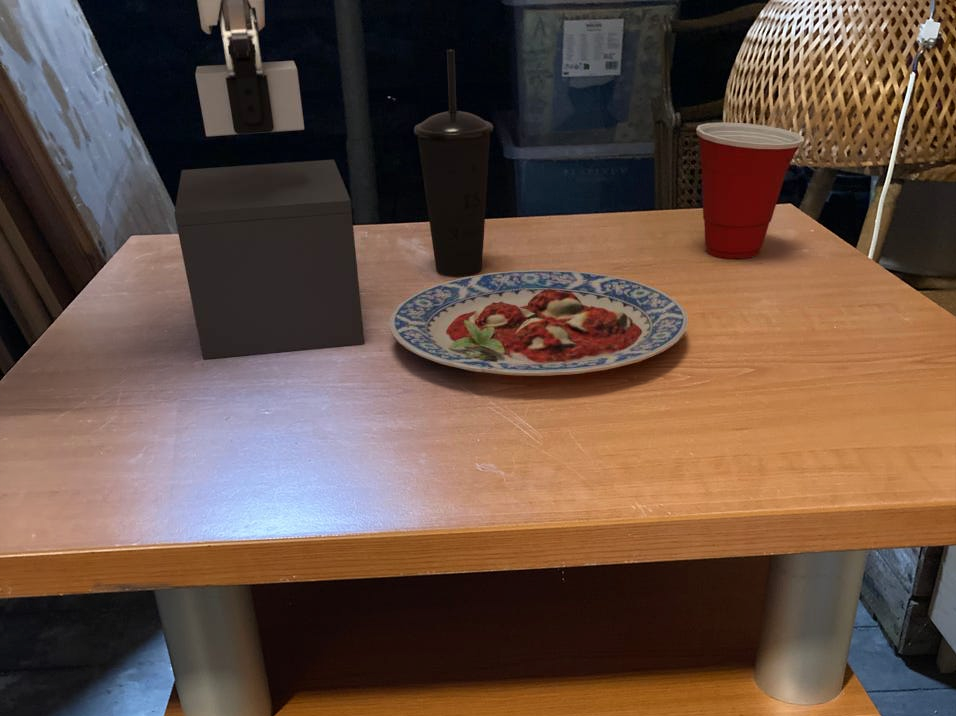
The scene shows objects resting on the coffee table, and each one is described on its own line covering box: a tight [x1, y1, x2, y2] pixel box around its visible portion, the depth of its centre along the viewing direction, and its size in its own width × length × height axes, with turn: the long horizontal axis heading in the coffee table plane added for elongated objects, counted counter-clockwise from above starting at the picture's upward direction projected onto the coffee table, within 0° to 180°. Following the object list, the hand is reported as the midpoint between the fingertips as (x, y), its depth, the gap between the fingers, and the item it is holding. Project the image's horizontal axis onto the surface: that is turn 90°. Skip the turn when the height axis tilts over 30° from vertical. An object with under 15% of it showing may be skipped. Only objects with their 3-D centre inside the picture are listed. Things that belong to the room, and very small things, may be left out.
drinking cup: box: [413, 49, 494, 277], centre depth 99 cm, size 8×8×20 cm
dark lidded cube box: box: [174, 159, 365, 360], centre depth 90 cm, size 14×16×12 cm
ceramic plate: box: [389, 269, 689, 377], centre depth 87 cm, size 26×26×3 cm
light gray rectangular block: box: [194, 60, 305, 138], centre depth 82 cm, size 8×4×4 cm, turn 101°
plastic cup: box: [695, 121, 805, 259], centre depth 104 cm, size 11×11×12 cm
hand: (253, 123), depth 83 cm, fingers closed on light gray rectangular block, 4 cm apart
